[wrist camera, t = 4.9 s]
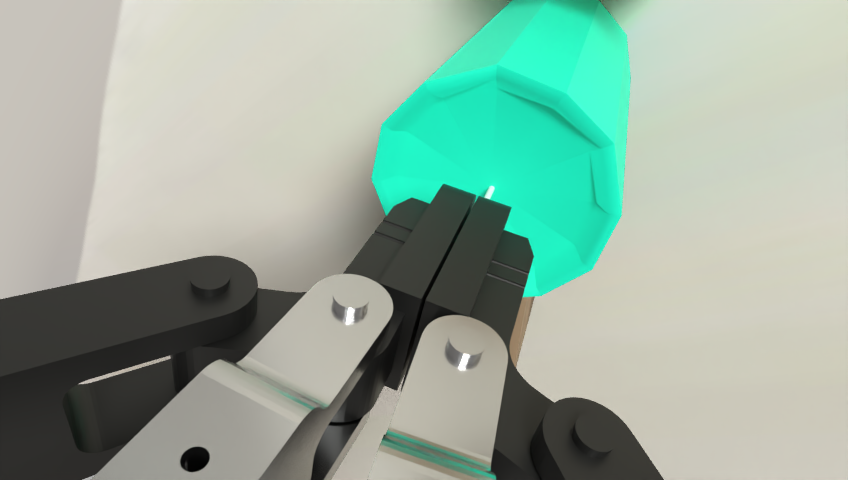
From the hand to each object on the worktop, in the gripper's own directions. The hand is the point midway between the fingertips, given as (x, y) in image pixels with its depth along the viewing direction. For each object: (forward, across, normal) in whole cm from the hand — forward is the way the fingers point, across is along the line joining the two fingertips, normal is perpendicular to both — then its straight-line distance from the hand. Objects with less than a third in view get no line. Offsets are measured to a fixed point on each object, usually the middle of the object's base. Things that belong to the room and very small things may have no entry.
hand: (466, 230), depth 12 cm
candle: (+12, 0, 0) cm, 12 cm away
